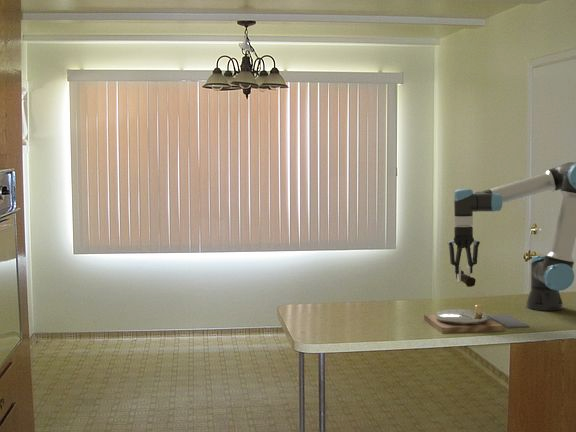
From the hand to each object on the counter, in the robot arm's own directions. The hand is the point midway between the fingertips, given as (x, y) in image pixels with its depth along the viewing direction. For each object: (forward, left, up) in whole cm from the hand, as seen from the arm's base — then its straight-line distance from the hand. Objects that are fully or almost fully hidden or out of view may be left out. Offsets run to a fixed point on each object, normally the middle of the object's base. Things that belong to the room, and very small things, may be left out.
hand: (463, 281), depth 319 cm
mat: (-13, +16, -14) cm, 25 cm away
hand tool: (+1, 0, -1) cm, 1 cm away
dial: (+7, +20, -12) cm, 24 cm away
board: (+7, +20, -14) cm, 25 cm away
